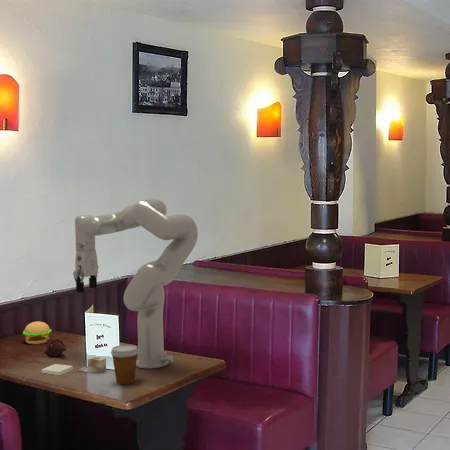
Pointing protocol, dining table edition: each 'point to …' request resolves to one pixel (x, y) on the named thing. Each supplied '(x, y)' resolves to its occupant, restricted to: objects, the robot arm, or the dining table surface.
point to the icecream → (55, 347)
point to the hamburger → (37, 332)
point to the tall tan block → (95, 365)
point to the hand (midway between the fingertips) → (86, 290)
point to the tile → (57, 369)
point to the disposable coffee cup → (125, 363)
